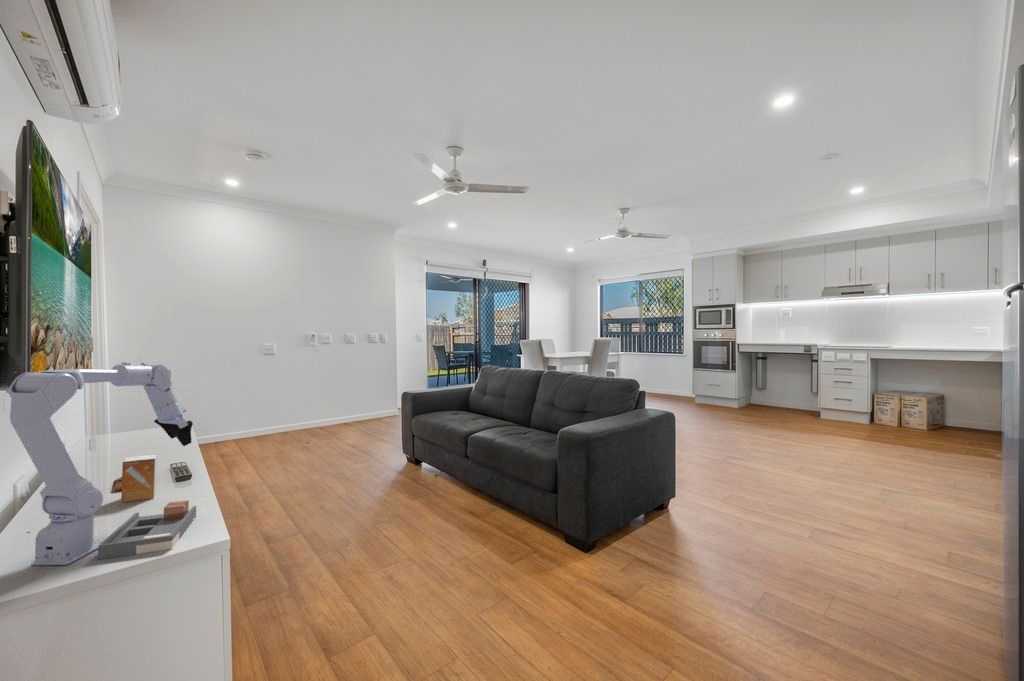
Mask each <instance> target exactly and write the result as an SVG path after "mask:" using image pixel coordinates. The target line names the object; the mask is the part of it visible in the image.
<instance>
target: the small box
mask: <svg viewBox="0 0 1024 681" xmlns="http://www.w3.org/2000/svg"><path fill="white" fill-rule="evenodd" d="M158 456H159V455H158V454H150V455H137V456H129V457H125V459H124V460H123V461H122V469H121V470H122V472H121V477H122V492H121V498H120V500H121V501H120V502H121V503H127V502H135V501H142V500H143V501H145V500H153V499H154V498H155V497H156V494H157V490H158V489H157V488H158V486H157V485H158V483H157V482H158V459H159V458H158ZM152 498H153V499H152Z"/></svg>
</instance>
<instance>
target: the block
mask: <svg viewBox="0 0 1024 681" xmlns="http://www.w3.org/2000/svg"><path fill="white" fill-rule="evenodd" d="M189 508H190V501H189V500H180V501H179V500H178V501H171V502H170V501H169V502H168V503H167V504H166V505H165V506H164V507H163V514H164V521H167V520H175V519H183V518H184V517H185V515H186V514H187V513H188V512H189V511H190V510H189Z"/></svg>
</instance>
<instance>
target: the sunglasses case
mask: <svg viewBox="0 0 1024 681" xmlns="http://www.w3.org/2000/svg"><path fill="white" fill-rule="evenodd" d="M117 492H118V493H122V476H121V477H118V478H116V479H115V480H114V486H113V489H112V491H111V493H112V494H117Z"/></svg>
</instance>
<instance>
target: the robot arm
mask: <svg viewBox="0 0 1024 681" xmlns="http://www.w3.org/2000/svg"><path fill="white" fill-rule="evenodd" d="M171 378H172V371H171V369H169V368H168V367H166V366H165V365H162V364H148V362H141V363H140V364H132V362H129V361H128V362H127V361H126V362H121V363H119V364H116V365H114V366H112V367H111V368H110V369H94V368H93V369H91V368H90V369H89V368H88V369H87V368H62V369H49V370H40V372H35V371H29V372H23V373H21V374H19V375H18V376H17V377H16V378H14V380H13V381H12V383H11V384H10V385H9V387H8V388H7V389H6V391H7V394H8V395H9V397H10V399H11V400H10V412H9V413H10V414H9V421H10V424H11V426H12V428H13V430H15V433H16V434H17V437H18V438H19V440H20V442H21V443H22V446H23V447H24V449H25V450H26V453H27V455H28V456H29V457H30V459H31V461H32V463H33V465H34V466H35V468H36V471H37V472H38V474H39V475H40V478H41V479H42V481H43V483H44V485H45V486H44V487H43V488H42V490H41V491H39V494H40V496H41V499H42V500H41V508H42V510H43V512H44V513H46V514H47V515H48V519H49V520H50V521H49V523H48V525H47V526H45V527H43V528H42V529H40V530H39V531H38V532H37V534H36V537H35V548H34V549H35V551H34V552H35V553H34V554H35V555H34V558H35V559H34V561H33V562H31V563H30V565H31V566H65V565H70V564H71V563H73V562H75V561H78V560H80V559H82V558H83V557H85V556H87V555H89V554H91V553H93V552H95V551H97V550H98V546H99V545H100V544H101V543H94V526H95V525H94V523H95V522H94V521H95V520H94V519H95V515H96V514H97V511H98V510H99V509H100V507H101V506H102V504H103V501H104V495H103V492H102V491H101V490H100V489H98V488H96V487H95V486H94V485H93V483H92V482H91V481H90V480H88V479H87V478H84V477H83V476H82V475H80V474H79V473H78V470H77V468H76V467H75V464H74V462H73V461H72V458H71V457H70V455H69V453H68V451H67V448H66V447H65V445H64V443H63V441H62V440H61V438H60V435H59V434H58V432H57V430H56V427H55V426H54V424H53V421H52V419H51V418H52V416H53V415H54V414H55V413H57V412H58V411H59V410H60V409H61V408H62V407H63V406H64V405H65V404H66V403H67V402H68V401H70V400H71V399H72V398H73V397H74V395H75V394H76V393H77V391H78V390H82V389H83V387H84V385H85V384H94V383H107V382H108V383H110V384H112V385H114V386H115V387H133V386H143V388H144V391H145V393H146V395H147V397H148V400H149V402H150V404H151V406H152V408H153V412H154V413H155V415H156V417H157V418H156V419H154V421H153V422H154V423H155V424H157V425H159V426H160V427H161V428H162V429H163V431H164V432H165V433H166V434H167V435H168V437H169V438H170V439H172V440H173V439H174V438H176V439H178V441H179V443H180V444H181V445H182V446H183V447H186V446H187V445H189V444H192V428H193V421H192V420H191V419H190V420H186V419H185V415H184V414H185V412H187V408H185V407H181V406H180V404H179V402H178V399H177V396H176V394H175V393H174V390H173V387H172V384H173V383H172V381H171V380H172V379H171Z"/></svg>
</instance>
